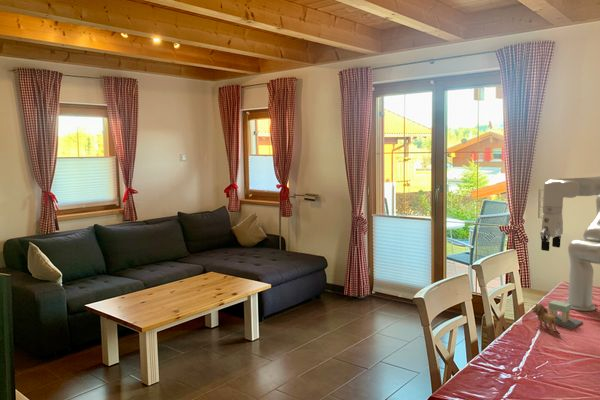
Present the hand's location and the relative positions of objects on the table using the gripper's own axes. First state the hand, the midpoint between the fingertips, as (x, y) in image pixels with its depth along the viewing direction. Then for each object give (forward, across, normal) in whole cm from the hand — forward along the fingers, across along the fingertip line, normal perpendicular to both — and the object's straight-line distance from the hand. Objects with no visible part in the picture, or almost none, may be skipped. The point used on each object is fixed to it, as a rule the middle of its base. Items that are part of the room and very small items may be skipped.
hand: (550, 248), depth 210 cm
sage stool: (+30, -3, -6) cm, 30 cm away
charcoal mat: (+30, -3, -7) cm, 31 cm away
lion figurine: (+31, -16, -7) cm, 35 cm away
